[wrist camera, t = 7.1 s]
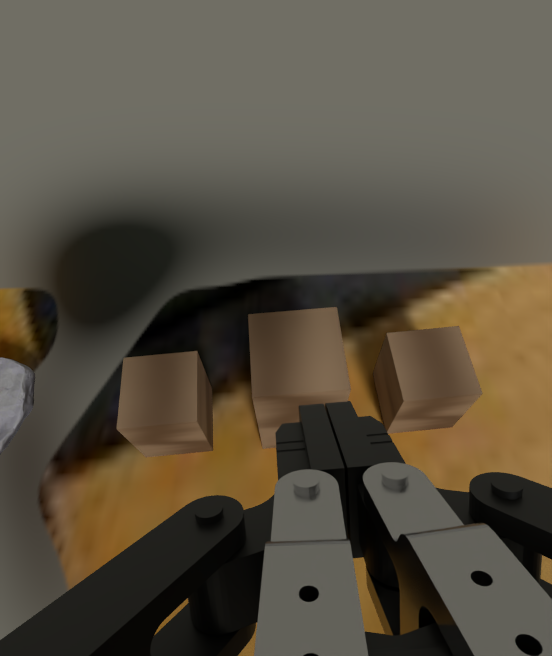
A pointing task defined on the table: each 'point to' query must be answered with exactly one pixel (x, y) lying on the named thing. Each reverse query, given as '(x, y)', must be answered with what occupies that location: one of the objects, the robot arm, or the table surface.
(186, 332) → the table surface
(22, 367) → the stone block
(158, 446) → the block seven
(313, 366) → the plain pillar
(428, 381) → the block one
